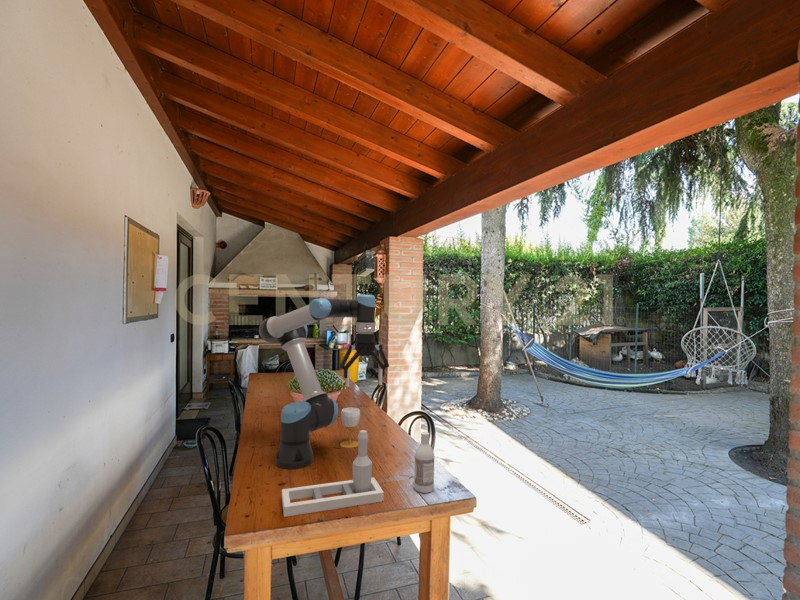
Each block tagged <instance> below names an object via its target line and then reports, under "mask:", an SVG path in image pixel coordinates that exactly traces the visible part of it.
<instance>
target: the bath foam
mask: <svg viewBox="0 0 800 600" xmlns="http://www.w3.org/2000/svg"><path fill="white" fill-rule="evenodd" d="M413 476H414V480H413V481H414V482H413V483H414V484H413V486H414V490H415V491H416V492H417V493H421V494H428V493H431V492H433V491H434V486H435V485H434V484H435V482H434V481H435V451H434V449H433V447H432V446H431V444H430V432H427V431H421V433H420V443H419V445H418V446H417V448H416V450H415V453H414V475H413Z"/></svg>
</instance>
